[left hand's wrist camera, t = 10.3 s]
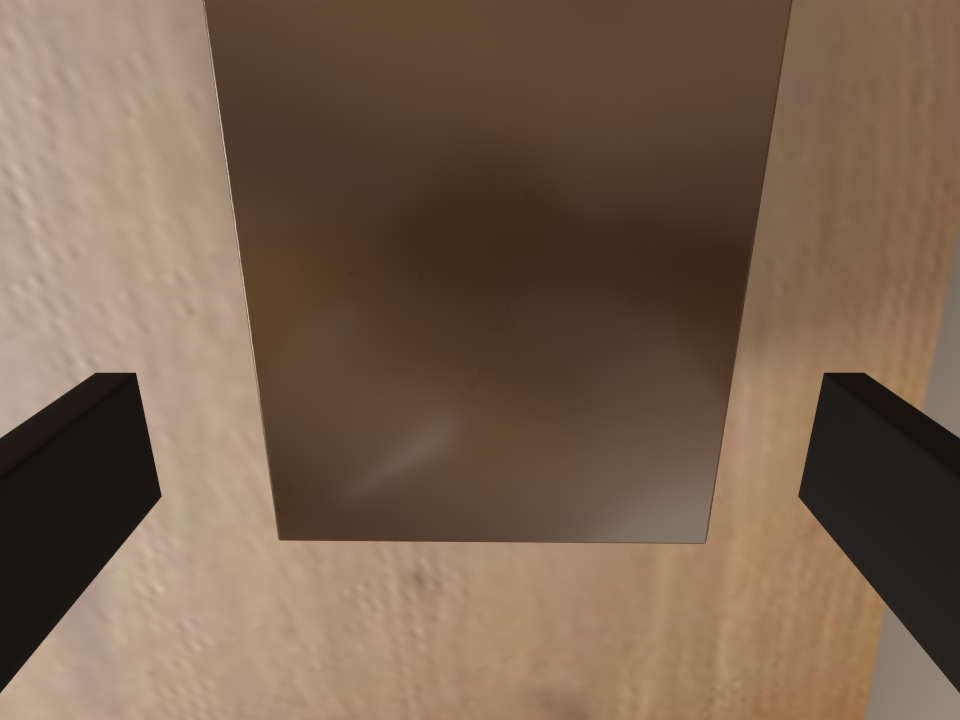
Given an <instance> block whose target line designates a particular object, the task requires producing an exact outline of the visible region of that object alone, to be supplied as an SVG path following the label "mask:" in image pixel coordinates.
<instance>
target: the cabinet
mask: <svg viewBox="0 0 960 720" xmlns="http://www.w3.org/2000/svg"><path fill="white" fill-rule="evenodd" d="M203 5H204V13H205V20H206V27H207V34H208V41H209V48H210V55H211V62H212V69H213V77H214V84H215V91H216V98H217V105H218V112H219V119H220V126H221V134H222V141H223V148H224V155H225V162H226V169H227V176H228V183H229V190H230V198H231V205H232V212H233V219H234V226H235V233H236V240H237V247H238V254H239V262H240V269H241V276H242V283H243V290H244V297H245V304H246V311H247V318H248V326H249V333H250V340H251V347H252V354H253V361H254V368H255V375H256V382H257V390H258V397H259V404H260V411H261V418H262V425H263V432H264V439H265V447H266V454H267V461H268V468H269V475H270V482H271V489H272V496H273V503H274V511H275V518H276V525H277V532H278V539H279V540H292V541H420V542H549V543H677V544H704V543H706V540H707V533H708V527H709V521H710V514H711V508H712V502H713V496H714V489H715V483H716V477H717V471H718V464H719V458H720V452H721V445H722V439H723V433H724V427H725V420H726V414H727V408H728V402H729V395H730V389H731V383H732V376H733V370H734V364H735V358H736V351H737V345H738V339H739V332H740V326H741V320H742V314H743V307H744V301H745V295H746V289H747V282H748V276H749V270H750V263H751V257H752V251H753V245H754V238H755V232H756V226H757V220H758V213H759V207H760V201H761V194H762V188H763V182H764V176H765V169H766V163H767V157H768V150H769V144H770V138H771V132H772V125H773V119H774V113H775V107H776V100H777V94H778V88H779V81H780V75H781V69H782V63H783V56H784V50H785V44H786V38H787V31H788V25H789V19H790V12H791V6H792V0H203Z"/></svg>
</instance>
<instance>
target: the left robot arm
mask: <svg viewBox="0 0 960 720" xmlns="http://www.w3.org/2000/svg"><path fill="white" fill-rule="evenodd" d="M161 497H162V496H161V491H160V486H159V481H158V477H157V472H156V467H155V462H154V457H153V453H152V448H151V443H150V438H149V433H148V429H147V424H146V419H145V414H144V409H143V405H142V400H141V395H140V390H139V385H138V381H137V376H136V373H95V374H93V375H92V376H90V377H89V378H87V379H86V380H85V381H83V382H82V383H80V384H79V385H77V386H76V387H74V388H73V389H71V390H70V391H69V392H67V393H66V394H64V395H63V396H61V397H60V398H58V399H57V400H55V401H54V402H53V403H51V404H50V405H48V406H47V407H45V408H44V409H42V410H41V411H39V412H38V413H37V414H35V415H34V416H32V417H31V418H29V419H28V420H26V421H25V422H23V423H22V424H21V425H19V426H18V427H16V428H15V429H13V430H12V431H10V432H9V433H7V434H6V435H5V436H3V437H2V438H0V693H1V692H2V690H3V689H4V688H5V687H6V686H7V684H8V683H9V682H10V681H11V679H12V678H13V677H14V676H15V675H16V673H17V672H18V671H19V670H20V669H21V667H22V666H23V665H24V664H25V662H26V661H27V660H28V659H29V658H30V656H31V655H32V654H33V653H34V651H35V650H36V649H37V648H38V647H39V645H40V644H41V643H42V642H43V640H44V639H45V638H46V637H47V636H48V634H49V633H50V632H51V631H52V630H53V628H54V627H55V626H56V625H57V623H58V622H59V621H60V620H61V619H62V617H63V616H64V615H65V614H66V612H67V611H68V610H69V609H70V608H71V606H72V605H73V604H74V603H75V601H76V600H77V599H78V598H79V597H80V595H81V594H82V593H83V592H84V591H85V589H86V588H87V587H88V586H89V584H90V583H91V582H92V581H93V580H94V578H95V577H96V576H97V575H98V573H99V572H100V571H101V570H102V569H103V567H104V566H105V565H106V564H107V562H108V561H109V560H110V559H111V558H112V556H113V555H114V554H115V553H116V552H117V550H118V549H119V548H120V547H121V545H122V544H123V543H124V542H125V541H126V539H127V538H128V537H129V536H130V534H131V533H132V532H133V531H134V530H135V528H136V527H137V526H138V525H139V523H140V522H141V521H142V520H143V519H144V517H145V516H146V515H147V514H148V513H149V511H150V510H151V509H152V508H153V506H154V505H155V504H156V503H157V502H158V500H159V499H160V498H161ZM798 497H799V498H800V499H801V500H802V502H803V503H804V504H805V505H806V506H807V508H808V509H809V510H810V511H811V513H812V514H813V515H814V516H815V517H816V519H817V520H818V521H819V522H820V523H821V525H822V526H823V527H824V528H825V530H826V531H827V532H828V533H829V534H830V536H831V537H832V538H833V539H834V541H835V542H836V543H837V544H838V545H839V547H840V548H841V549H842V550H843V552H844V553H845V554H846V555H847V556H848V558H849V559H850V560H851V561H852V562H853V564H854V565H855V566H856V567H857V569H858V570H859V571H860V572H861V573H862V575H863V576H864V577H865V578H866V580H867V581H868V582H869V583H870V584H871V586H872V587H873V588H874V589H875V591H876V592H877V593H878V594H879V595H880V597H881V598H882V599H883V600H884V601H885V603H886V604H887V605H888V606H889V608H890V609H891V610H892V611H893V612H894V614H895V615H896V616H897V617H898V619H899V620H900V621H901V622H902V623H903V625H904V626H905V627H906V628H907V629H908V631H909V632H910V633H911V634H912V636H913V637H914V638H915V639H916V640H917V642H918V643H919V644H920V645H921V647H922V648H923V649H924V650H925V651H926V653H927V654H928V655H929V656H930V658H931V659H932V660H933V661H934V662H935V664H936V665H937V666H938V667H939V669H940V670H941V671H942V672H943V673H944V675H945V676H946V677H947V678H948V679H949V681H950V682H951V683H952V684H953V685H954V687H955V688H956V689H957V690H958V692H959V693H960V438H958V437H957V436H955V435H954V434H953V433H951V432H950V431H948V430H947V429H945V428H944V427H942V426H941V425H939V424H938V423H937V422H935V421H934V420H932V419H931V418H929V417H928V416H926V415H925V414H923V413H922V412H921V411H919V410H918V409H916V408H915V407H913V406H912V405H910V404H909V403H907V402H906V401H905V400H903V399H902V398H900V397H899V396H897V395H896V394H894V393H893V392H891V391H890V390H889V389H887V388H886V387H884V386H883V385H881V384H880V383H878V382H877V381H875V380H874V379H873V378H871V377H870V376H868V375H867V374H865V373H824V376H823V381H822V385H821V390H820V395H819V400H818V405H817V409H816V414H815V419H814V424H813V429H812V433H811V438H810V443H809V448H808V453H807V457H806V462H805V467H804V472H803V477H802V481H801V486H800V491H799V496H798Z"/></svg>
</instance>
